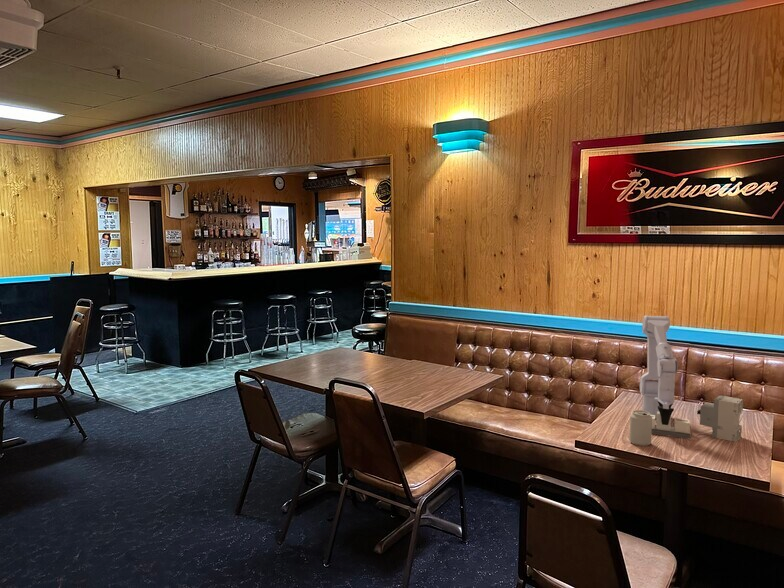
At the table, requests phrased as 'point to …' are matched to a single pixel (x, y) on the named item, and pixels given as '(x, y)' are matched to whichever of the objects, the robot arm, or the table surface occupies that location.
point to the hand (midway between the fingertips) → (664, 421)
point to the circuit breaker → (723, 417)
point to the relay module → (659, 423)
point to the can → (640, 428)
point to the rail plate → (674, 428)
